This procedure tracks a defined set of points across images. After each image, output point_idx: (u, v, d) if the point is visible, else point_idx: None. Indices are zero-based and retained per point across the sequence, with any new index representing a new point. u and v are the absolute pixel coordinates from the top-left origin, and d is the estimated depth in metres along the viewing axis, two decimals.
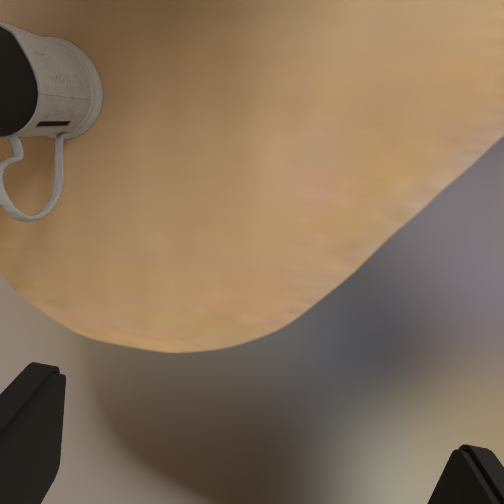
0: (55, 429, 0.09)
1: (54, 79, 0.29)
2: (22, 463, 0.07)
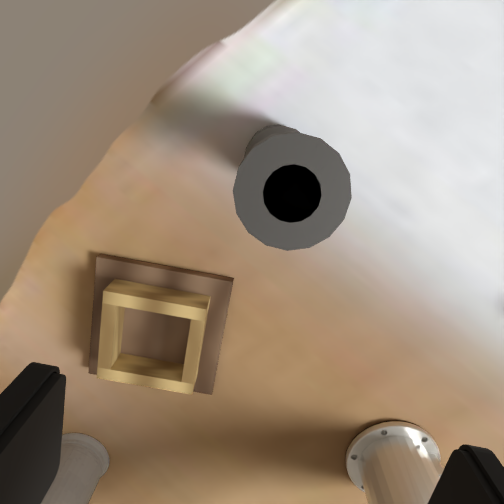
0: (55, 429, 0.09)
1: None
2: (23, 463, 0.07)
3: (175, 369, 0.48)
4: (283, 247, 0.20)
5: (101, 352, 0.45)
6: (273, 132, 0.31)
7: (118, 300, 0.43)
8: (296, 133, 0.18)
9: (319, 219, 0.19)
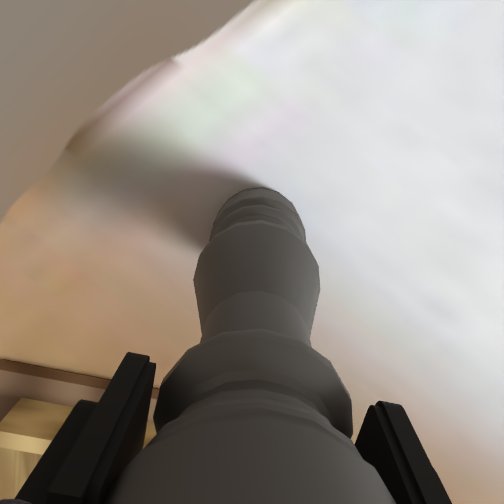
0: (146, 412, 0.10)
1: None
2: (132, 439, 0.08)
3: None
4: None
5: None
6: (244, 244, 0.17)
7: (17, 443, 0.29)
8: None
9: None
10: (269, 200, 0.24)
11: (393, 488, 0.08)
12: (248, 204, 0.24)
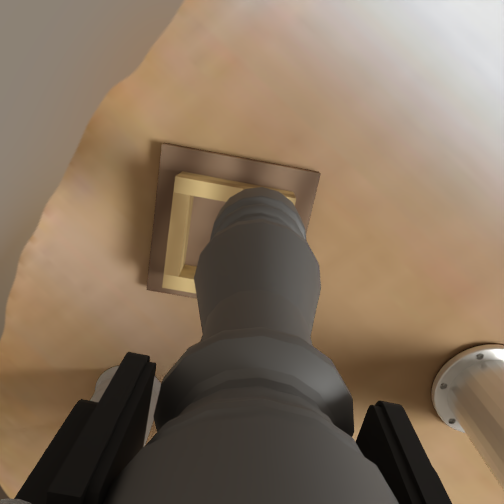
0: (146, 412, 0.10)
1: None
2: (132, 439, 0.08)
3: None
4: None
5: (169, 255, 0.39)
6: (244, 243, 0.16)
7: (192, 188, 0.37)
8: None
9: None
10: (270, 199, 0.24)
11: (393, 488, 0.08)
12: (248, 203, 0.24)
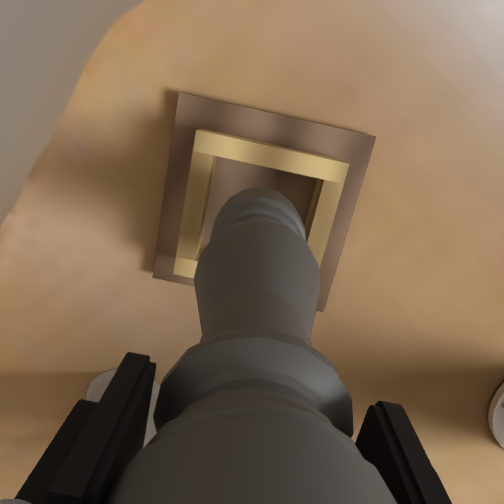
0: (146, 412, 0.10)
1: None
2: (132, 439, 0.08)
3: None
4: None
5: (184, 233, 0.31)
6: (244, 244, 0.16)
7: (217, 146, 0.29)
8: None
9: None
10: (269, 200, 0.24)
11: (393, 488, 0.08)
12: (248, 204, 0.24)
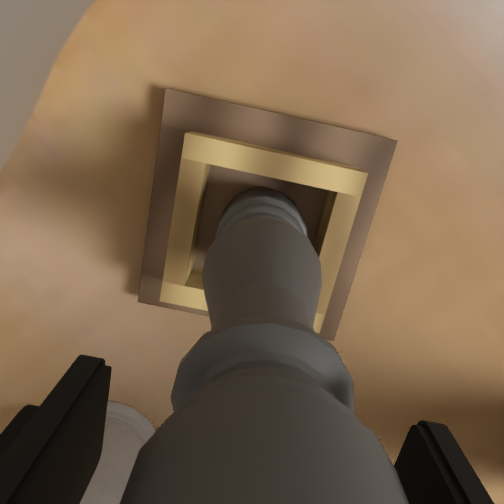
0: (101, 417, 0.09)
1: None
2: (79, 448, 0.08)
3: None
4: None
5: (171, 254, 0.26)
6: (251, 240, 0.17)
7: (210, 153, 0.24)
8: None
9: None
10: (273, 199, 0.25)
11: None
12: (252, 203, 0.25)
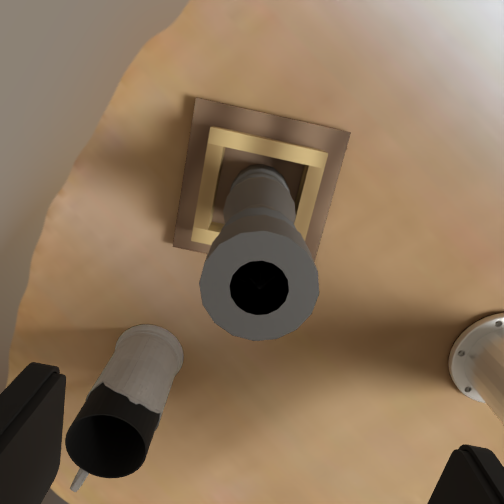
0: (55, 429, 0.09)
1: None
2: (23, 463, 0.07)
3: None
4: (250, 338, 0.19)
5: (199, 207, 0.39)
6: (253, 187, 0.31)
7: (226, 139, 0.37)
8: (264, 231, 0.18)
9: (286, 312, 0.19)
10: (267, 170, 0.38)
11: None
12: (253, 172, 0.38)
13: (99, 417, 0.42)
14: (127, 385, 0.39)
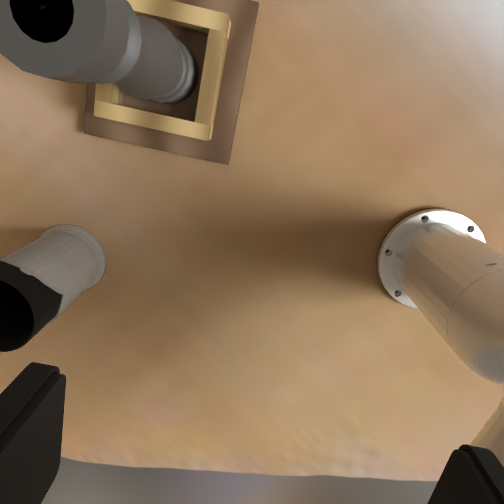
0: (55, 429, 0.09)
1: None
2: (22, 463, 0.07)
3: (186, 119, 0.41)
4: (42, 73, 0.18)
5: None
6: None
7: None
8: None
9: (76, 39, 0.18)
10: None
11: None
12: None
13: (3, 304, 0.41)
14: (22, 260, 0.37)
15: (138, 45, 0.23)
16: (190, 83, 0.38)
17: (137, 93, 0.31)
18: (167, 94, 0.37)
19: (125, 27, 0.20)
